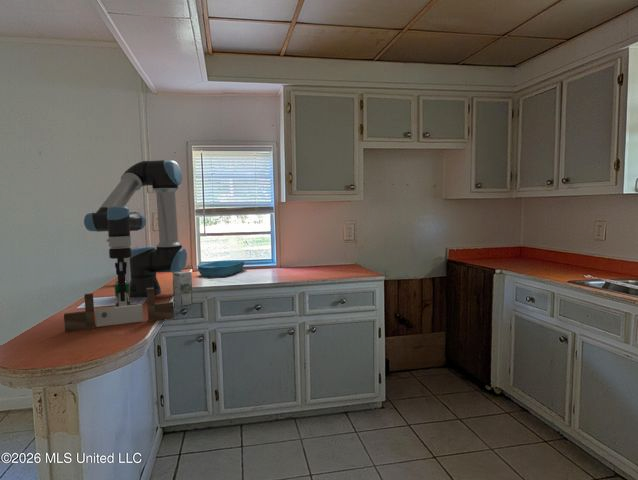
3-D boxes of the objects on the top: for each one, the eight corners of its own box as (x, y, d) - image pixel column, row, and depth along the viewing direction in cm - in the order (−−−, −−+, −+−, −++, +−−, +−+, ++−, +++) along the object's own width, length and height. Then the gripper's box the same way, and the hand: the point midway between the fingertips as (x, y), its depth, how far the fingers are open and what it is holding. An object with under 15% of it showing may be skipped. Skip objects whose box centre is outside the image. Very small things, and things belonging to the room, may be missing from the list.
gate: (143, 319, 149) (142, 303, 148) (143, 321, 146) (142, 305, 146) (96, 325, 142) (95, 309, 142) (96, 327, 140) (95, 310, 139)
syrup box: (185, 302, 177) (183, 270, 176) (193, 304, 174) (191, 271, 172) (173, 305, 173) (171, 272, 172) (181, 307, 169) (179, 273, 168)
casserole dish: (219, 269, 281) (219, 259, 280) (249, 269, 275) (249, 259, 275) (191, 278, 245) (190, 266, 244) (225, 279, 240) (224, 267, 239)
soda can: (116, 311, 156) (114, 280, 155) (130, 310, 158) (129, 279, 157) (115, 314, 152) (113, 282, 151) (130, 312, 154) (128, 281, 153)
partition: (66, 330, 139) (63, 295, 138) (173, 316, 154) (171, 285, 153) (64, 332, 136) (62, 297, 135) (174, 318, 151) (172, 286, 150)
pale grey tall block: (121, 284, 226) (119, 246, 224) (129, 282, 232) (127, 245, 230) (131, 285, 224) (129, 247, 222) (139, 283, 229) (137, 246, 228)
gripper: (109, 246, 160) (112, 304, 161) (107, 249, 143) (111, 314, 145) (130, 245, 163) (133, 302, 164) (131, 248, 147) (134, 311, 148)
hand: (123, 307), depth 155 cm, fingers closed on soda can, 5 cm apart
